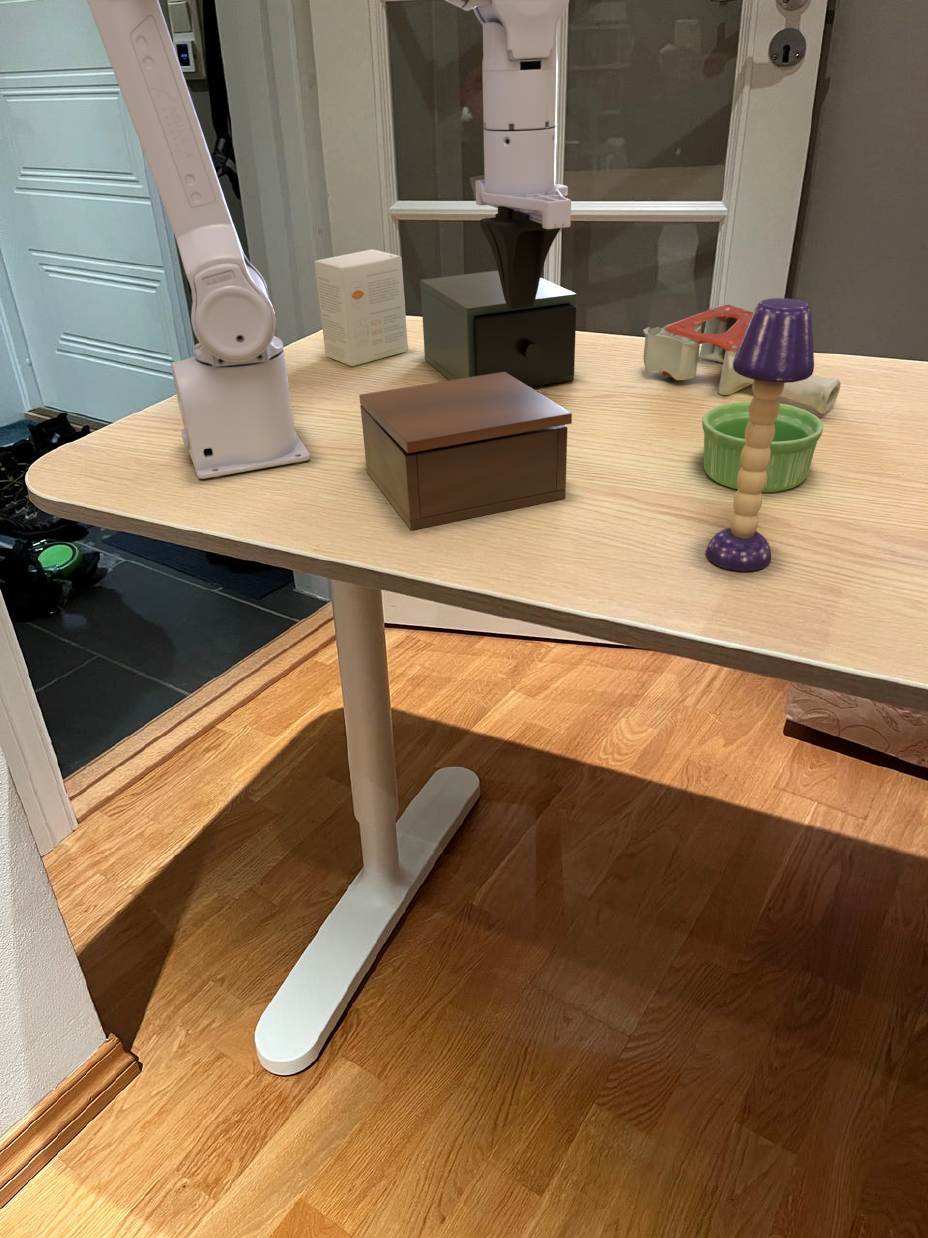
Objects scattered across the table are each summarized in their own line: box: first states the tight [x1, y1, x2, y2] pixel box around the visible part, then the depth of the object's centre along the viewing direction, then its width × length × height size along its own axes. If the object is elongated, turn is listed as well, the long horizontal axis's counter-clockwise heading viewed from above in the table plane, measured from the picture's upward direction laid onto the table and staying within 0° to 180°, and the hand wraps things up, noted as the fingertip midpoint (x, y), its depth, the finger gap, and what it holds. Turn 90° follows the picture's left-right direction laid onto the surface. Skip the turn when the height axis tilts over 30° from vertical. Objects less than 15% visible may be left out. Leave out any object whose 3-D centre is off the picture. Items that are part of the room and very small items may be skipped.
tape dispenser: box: [642, 304, 842, 415], centre depth 89 cm, size 18×5×20 cm
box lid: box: [358, 372, 573, 453], centre depth 69 cm, size 12×13×1 cm
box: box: [359, 404, 568, 531], centre depth 71 cm, size 12×13×6 cm
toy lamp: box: [705, 297, 815, 572], centre depth 57 cm, size 5×5×17 cm
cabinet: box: [419, 270, 577, 388], centre depth 95 cm, size 14×12×9 cm
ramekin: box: [701, 400, 824, 493], centre depth 71 cm, size 9×9×4 cm
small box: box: [314, 248, 409, 367], centre depth 100 cm, size 8×6×10 cm
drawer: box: [473, 304, 577, 383], centre depth 93 cm, size 14×10×7 cm
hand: (519, 305), depth 78 cm, fingers closed
